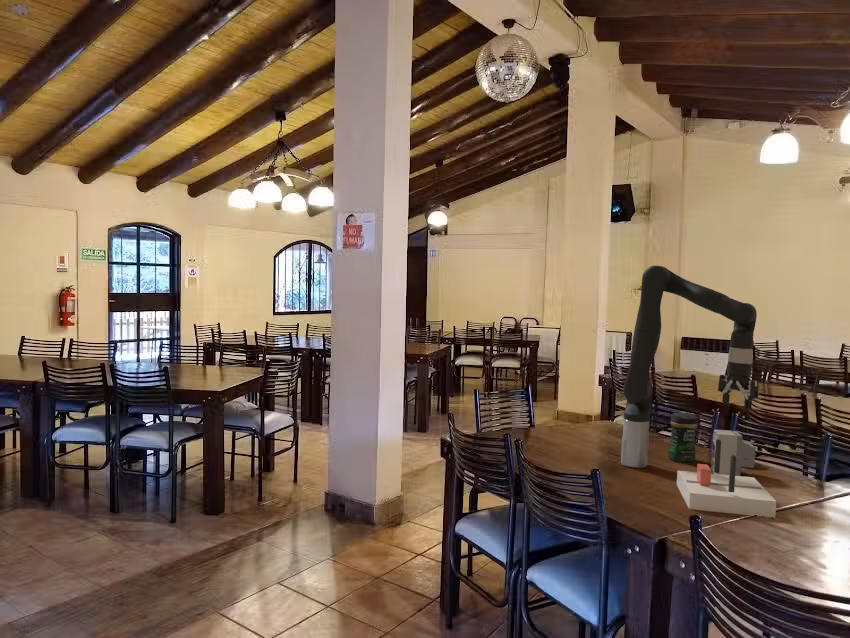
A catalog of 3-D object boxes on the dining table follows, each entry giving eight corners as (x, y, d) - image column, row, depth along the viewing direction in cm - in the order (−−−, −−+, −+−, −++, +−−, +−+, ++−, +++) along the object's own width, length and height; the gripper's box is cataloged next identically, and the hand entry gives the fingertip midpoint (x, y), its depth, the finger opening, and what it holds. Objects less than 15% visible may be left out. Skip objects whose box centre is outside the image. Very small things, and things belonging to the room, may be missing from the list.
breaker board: (689, 509, 194) (690, 492, 194) (676, 484, 218) (677, 470, 217) (775, 517, 189) (776, 501, 189) (753, 492, 212) (753, 477, 212)
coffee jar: (676, 463, 244) (679, 415, 243) (664, 457, 252) (667, 411, 251) (699, 462, 246) (701, 415, 245) (686, 456, 254) (689, 410, 253)
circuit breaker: (758, 478, 228) (761, 437, 227) (715, 474, 231) (718, 434, 230) (752, 472, 235) (754, 432, 234) (710, 469, 238) (713, 429, 237)
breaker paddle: (700, 484, 202) (701, 468, 202) (696, 478, 208) (697, 463, 207) (710, 485, 201) (711, 469, 201) (706, 479, 207) (707, 464, 207)
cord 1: (714, 472, 212) (716, 439, 211) (713, 471, 214) (715, 438, 213) (719, 473, 212) (721, 440, 211) (718, 471, 213) (720, 439, 213)
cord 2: (729, 492, 193) (731, 455, 192) (727, 490, 194) (730, 454, 194) (734, 492, 192) (737, 456, 192) (733, 490, 194) (735, 454, 193)
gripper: (715, 358, 224) (711, 403, 225) (750, 364, 211) (746, 412, 212) (730, 358, 227) (726, 402, 228) (766, 363, 214) (762, 411, 215)
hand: (736, 407), depth 220 cm, fingers open, 8 cm apart
